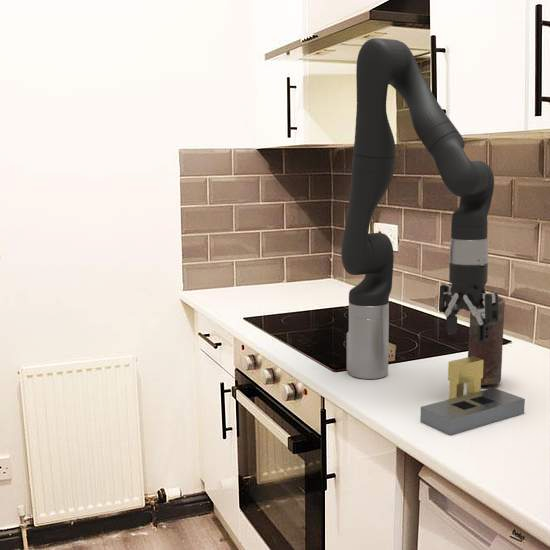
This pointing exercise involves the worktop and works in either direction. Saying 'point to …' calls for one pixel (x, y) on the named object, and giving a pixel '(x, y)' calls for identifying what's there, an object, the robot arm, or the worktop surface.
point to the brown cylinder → (488, 346)
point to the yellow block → (465, 376)
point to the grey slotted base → (472, 410)
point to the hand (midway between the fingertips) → (466, 338)
